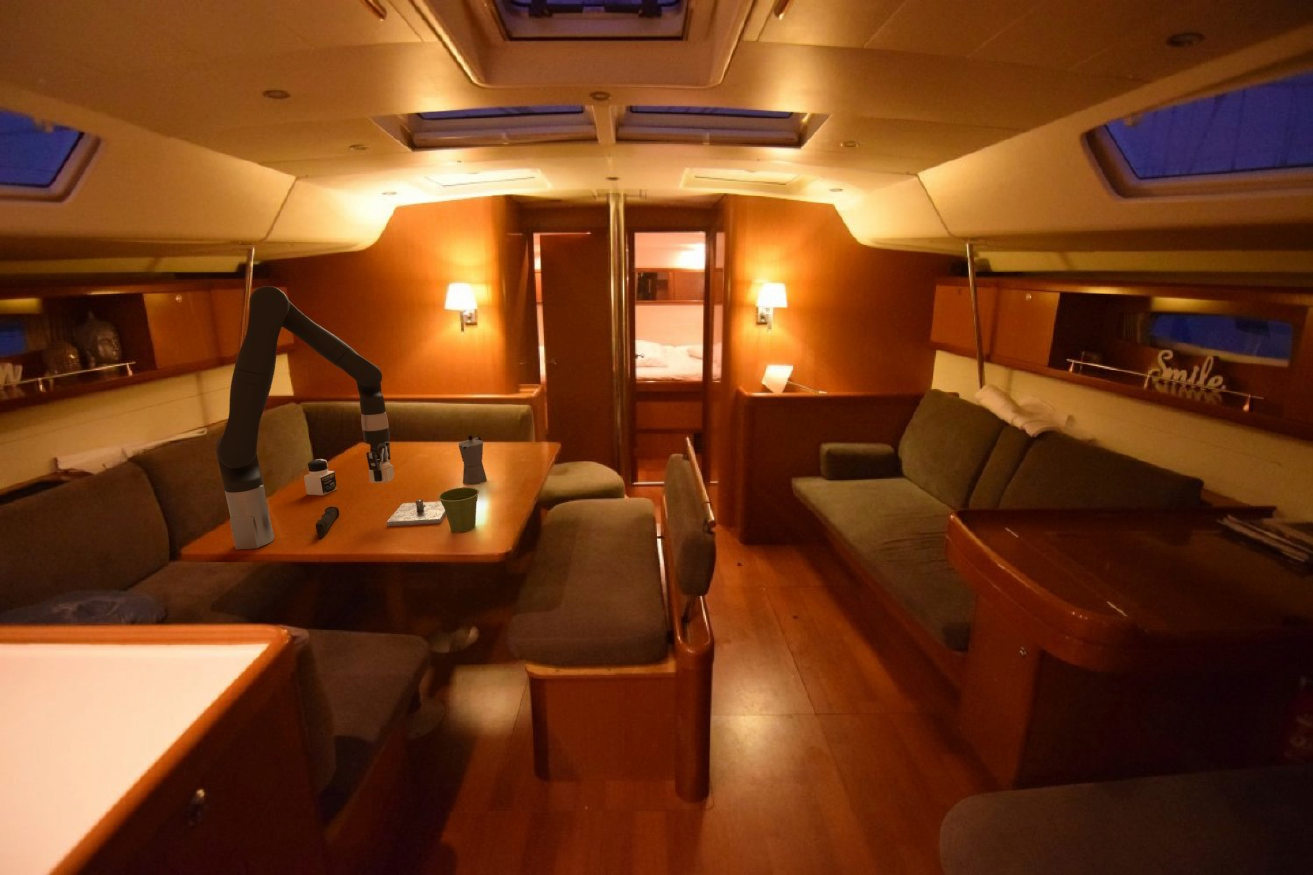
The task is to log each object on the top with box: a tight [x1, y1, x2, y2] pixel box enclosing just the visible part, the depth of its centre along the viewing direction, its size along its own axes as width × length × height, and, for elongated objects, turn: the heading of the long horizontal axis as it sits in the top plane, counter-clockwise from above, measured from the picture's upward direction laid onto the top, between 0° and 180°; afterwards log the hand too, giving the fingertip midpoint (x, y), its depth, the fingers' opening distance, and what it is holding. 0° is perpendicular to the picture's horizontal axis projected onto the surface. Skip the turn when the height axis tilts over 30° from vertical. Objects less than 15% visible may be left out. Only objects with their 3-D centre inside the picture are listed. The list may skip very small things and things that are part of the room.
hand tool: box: [315, 506, 340, 540], centre depth 183 cm, size 19×4×5 cm, turn 15°
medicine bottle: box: [303, 458, 338, 496], centre depth 215 cm, size 7×7×12 cm
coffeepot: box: [458, 434, 487, 486], centre depth 224 cm, size 15×9×18 cm, turn 174°
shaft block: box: [386, 499, 446, 527], centre depth 192 cm, size 16×16×5 cm
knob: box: [368, 461, 395, 484], centre depth 189 cm, size 6×6×5 cm
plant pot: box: [438, 486, 480, 533], centre depth 180 cm, size 12×12×11 cm
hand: (382, 477), depth 190 cm, fingers closed on knob, 5 cm apart
